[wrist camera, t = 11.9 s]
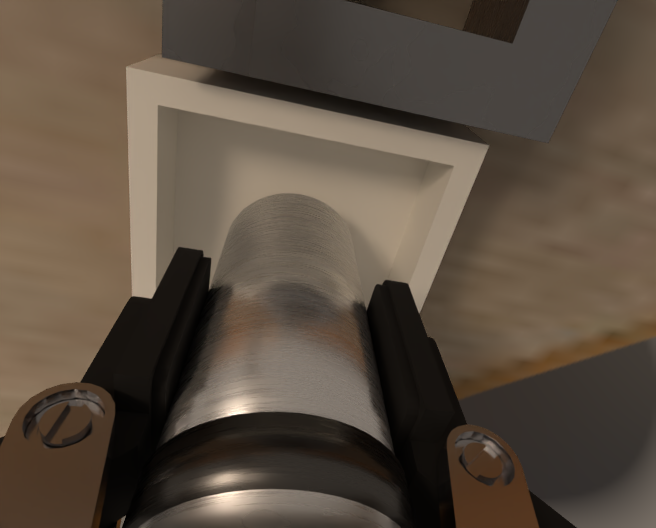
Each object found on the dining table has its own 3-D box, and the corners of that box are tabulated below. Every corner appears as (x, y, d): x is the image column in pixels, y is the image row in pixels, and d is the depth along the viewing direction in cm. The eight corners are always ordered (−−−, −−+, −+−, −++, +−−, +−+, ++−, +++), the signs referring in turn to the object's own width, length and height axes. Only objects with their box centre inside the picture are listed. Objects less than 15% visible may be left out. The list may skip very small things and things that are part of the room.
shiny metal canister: (228, 177, 12) (95, 487, 4) (372, 204, 13) (473, 516, 5) (216, 296, 14) (113, 644, 6) (339, 313, 15) (376, 649, 7)
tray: (159, 53, 12) (126, 66, 10) (458, 121, 13) (489, 145, 11) (156, 306, 16) (133, 354, 14) (379, 337, 18) (389, 384, 16)
